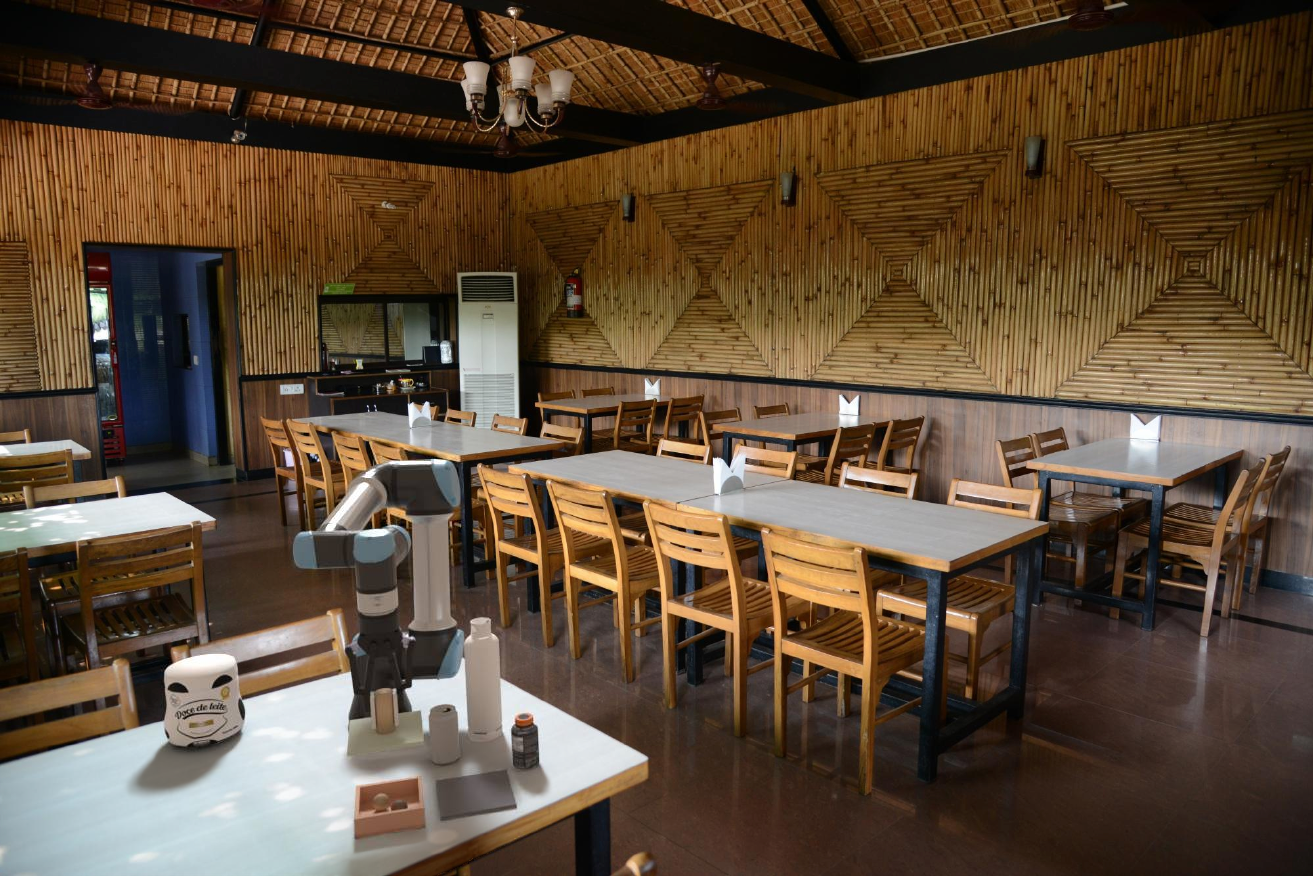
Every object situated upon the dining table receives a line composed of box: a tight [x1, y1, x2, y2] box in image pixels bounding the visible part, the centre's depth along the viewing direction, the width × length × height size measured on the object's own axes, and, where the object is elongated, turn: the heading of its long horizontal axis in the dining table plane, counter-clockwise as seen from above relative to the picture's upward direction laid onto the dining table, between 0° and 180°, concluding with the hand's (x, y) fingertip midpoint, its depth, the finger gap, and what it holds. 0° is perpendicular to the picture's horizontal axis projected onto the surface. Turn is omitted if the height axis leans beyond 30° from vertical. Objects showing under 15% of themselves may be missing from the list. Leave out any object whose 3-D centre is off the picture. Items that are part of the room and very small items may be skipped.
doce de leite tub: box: [163, 653, 246, 749], centre depth 211 cm, size 17×17×18 cm
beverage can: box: [428, 703, 461, 766], centre depth 199 cm, size 6×6×12 cm
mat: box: [435, 769, 518, 821], centre depth 184 cm, size 15×15×1 cm
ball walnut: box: [391, 799, 408, 811], centre depth 175 cm, size 3×3×3 cm
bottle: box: [463, 617, 503, 743], centre depth 210 cm, size 8×8×28 cm
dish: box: [353, 775, 426, 840], centre depth 177 cm, size 13×13×4 cm
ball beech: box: [373, 794, 389, 811], centre depth 178 cm, size 3×3×3 cm
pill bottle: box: [510, 712, 540, 771], centre depth 196 cm, size 6×6×11 cm
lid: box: [346, 688, 425, 757], centre depth 174 cm, size 14×14×9 cm
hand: (385, 723), depth 175 cm, fingers closed on lid, 4 cm apart
